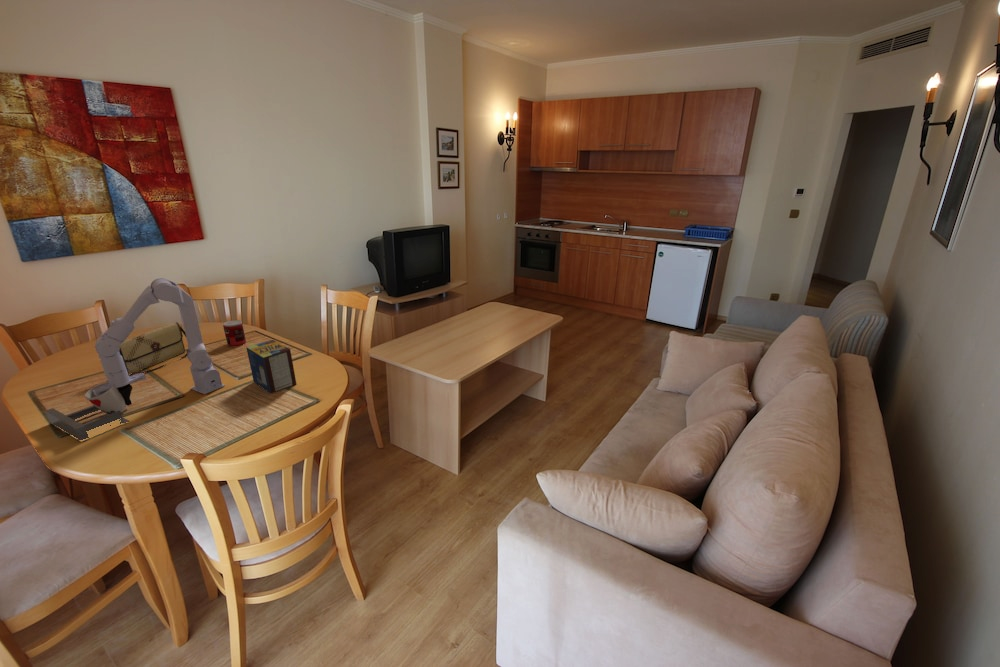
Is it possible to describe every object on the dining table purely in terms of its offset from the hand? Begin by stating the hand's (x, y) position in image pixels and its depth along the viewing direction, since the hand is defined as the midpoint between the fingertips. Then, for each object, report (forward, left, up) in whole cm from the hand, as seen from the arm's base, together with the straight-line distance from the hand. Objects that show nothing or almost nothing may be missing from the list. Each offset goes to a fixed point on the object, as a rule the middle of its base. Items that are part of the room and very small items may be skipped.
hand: (127, 404), depth 153 cm
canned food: (+24, -55, -2) cm, 60 cm away
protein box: (-28, -37, -2) cm, 47 cm away
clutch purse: (+30, -25, -2) cm, 39 cm away
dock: (0, +10, -1) cm, 10 cm away
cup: (0, +3, -1) cm, 3 cm away
